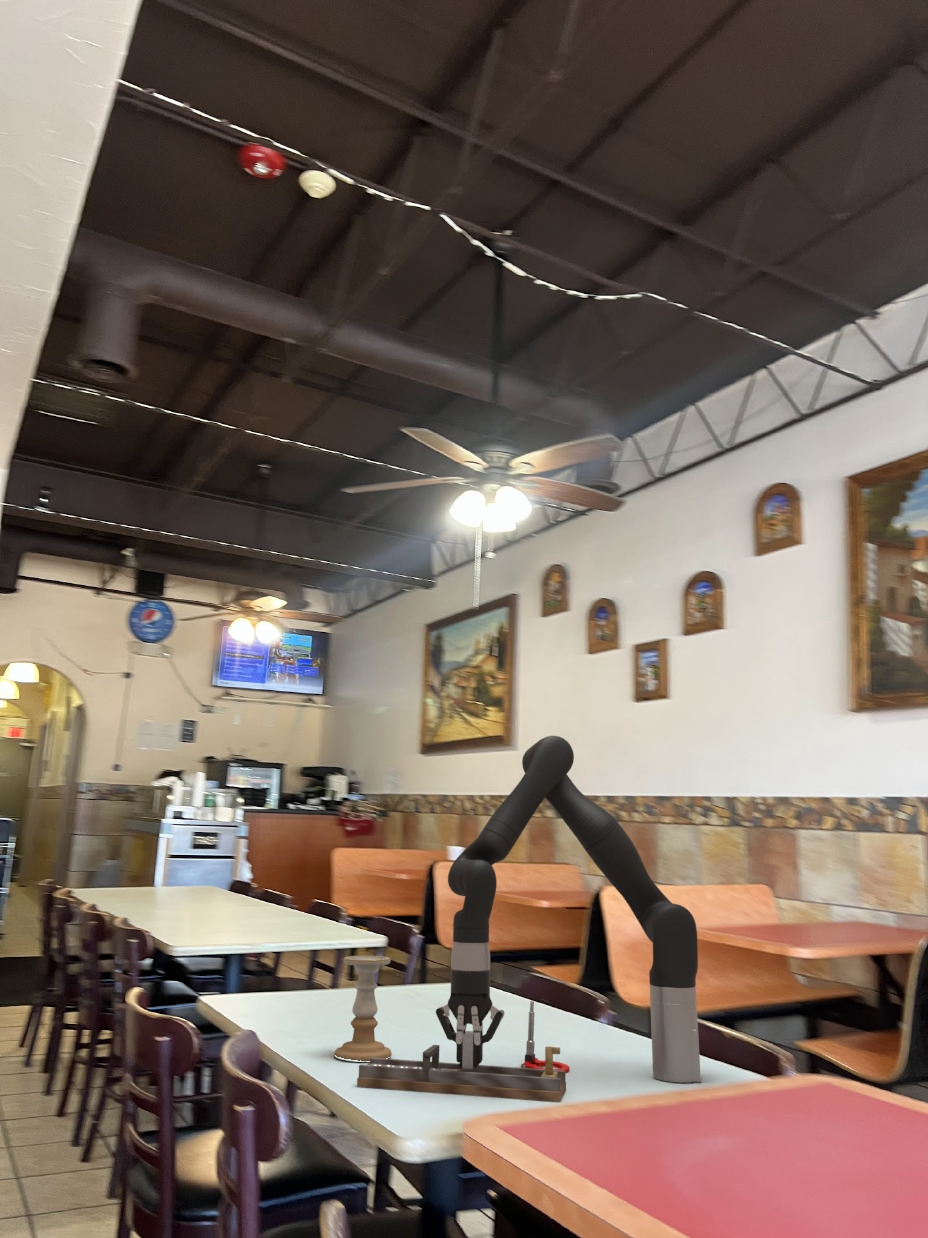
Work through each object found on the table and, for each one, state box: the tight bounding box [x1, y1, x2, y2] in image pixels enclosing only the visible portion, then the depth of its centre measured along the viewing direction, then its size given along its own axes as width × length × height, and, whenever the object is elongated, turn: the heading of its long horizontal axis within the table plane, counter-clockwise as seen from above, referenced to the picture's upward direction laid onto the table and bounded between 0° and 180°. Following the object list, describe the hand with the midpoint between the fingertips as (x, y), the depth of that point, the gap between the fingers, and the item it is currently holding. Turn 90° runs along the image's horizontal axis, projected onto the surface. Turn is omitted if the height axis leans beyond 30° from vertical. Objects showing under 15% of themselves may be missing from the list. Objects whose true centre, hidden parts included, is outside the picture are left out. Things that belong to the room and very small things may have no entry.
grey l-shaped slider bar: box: [366, 1030, 476, 1072], centre depth 169 cm, size 21×3×8 cm, turn 77°
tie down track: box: [356, 1044, 567, 1103], centre depth 167 cm, size 38×9×8 cm, turn 77°
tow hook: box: [520, 1000, 571, 1074], centre depth 185 cm, size 8×13×9 cm
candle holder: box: [334, 955, 392, 1061], centre depth 195 cm, size 12×12×20 cm
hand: (469, 1065), depth 167 cm, fingers closed on grey l-shaped slider bar, 2 cm apart
